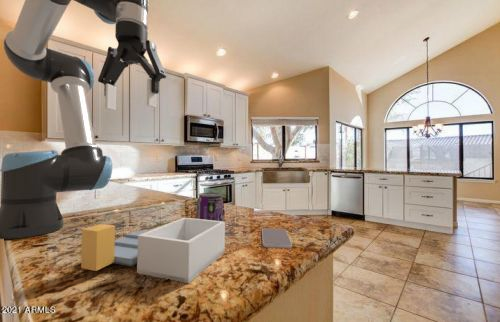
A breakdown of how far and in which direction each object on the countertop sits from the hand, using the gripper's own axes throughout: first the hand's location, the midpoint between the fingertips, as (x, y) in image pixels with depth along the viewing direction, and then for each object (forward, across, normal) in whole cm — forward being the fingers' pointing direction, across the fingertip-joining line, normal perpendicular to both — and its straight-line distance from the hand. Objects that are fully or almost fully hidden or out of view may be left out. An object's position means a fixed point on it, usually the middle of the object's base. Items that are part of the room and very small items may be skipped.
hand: (130, 108), depth 61 cm
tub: (+35, +22, -6) cm, 41 cm away
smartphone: (+35, +36, +16) cm, 53 cm away
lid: (+35, +9, -8) cm, 37 cm away
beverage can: (+35, +19, +9) cm, 41 cm away
